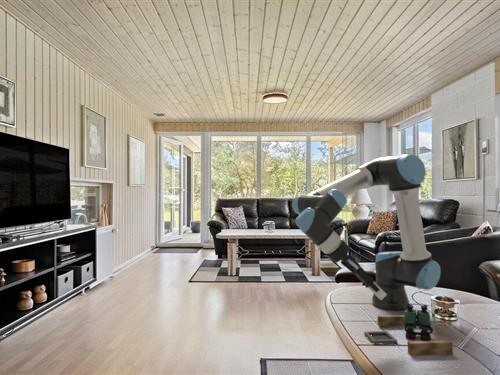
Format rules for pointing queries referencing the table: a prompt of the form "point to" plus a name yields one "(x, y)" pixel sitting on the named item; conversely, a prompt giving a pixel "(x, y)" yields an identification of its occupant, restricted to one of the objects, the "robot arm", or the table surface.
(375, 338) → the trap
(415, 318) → the binoculars
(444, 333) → the table surface
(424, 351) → the channel
